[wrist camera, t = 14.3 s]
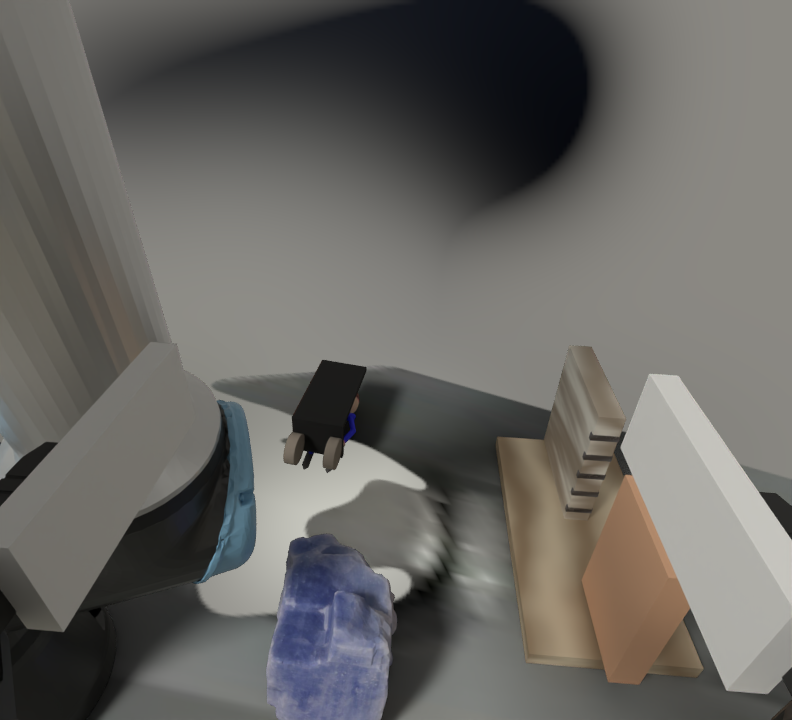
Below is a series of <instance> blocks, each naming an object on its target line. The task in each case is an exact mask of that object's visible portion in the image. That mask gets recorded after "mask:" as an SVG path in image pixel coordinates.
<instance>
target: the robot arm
mask: <svg viewBox="0 0 792 720" xmlns="http://www.w3.org/2000/svg"><path fill="white" fill-rule="evenodd" d="M0 433H1V435H2V436H3V437H4V438H3V440H2V442H0V720H86V718H87V717H88V715H89V714H90V713H91V711H92V710H93V708H94V706H95V705H96V703H97V702H98V700H99V698H100V696H101V694H102V692H103V690H104V688H105V686H106V684H107V682H108V679H109V677H110V674H111V671H112V667H113V663H114V659H115V653H116V633H115V628H114V624H113V621H112V619H111V617H110V615H109V613H108V612H107V610H106V608H105V606H107V605H111V604H115V603H118V602H122V601H126V600H129V599H133V598H137V597H140V596H144V595H148V594H151V593H155V592H158V591H162V590H166V589H169V588H173V587H177V586H180V585H184V584H188V583H191V582H192V583H194V584H199V583H203V582H206V580H208V579H209V578H210V577H212V576H214V575H218V574H220V573H224V572H226V571H230V570H233V569H236V568H238V567H240V566H241V565H243V564H244V563H245V562H246V561H247V560H248V559H249V558H250V556H251V554H252V552H253V550H254V546H255V541H256V504H255V496H254V494H253V491H254V473H253V463H252V453H251V445H250V438H249V432H248V427H247V421H246V417H245V413H244V410H243V408H242V407H241V405H239V404H237V403H235V402H225V401H222V400H219V401H216V399H215V397H214V395H213V393H212V391H211V390H210V388H209V387H208V386H207V385H206V384H205V383H204V382H203V381H201V380H200V379H199V378H198V377H196V376H194V375H193V374H191V373H189V372H187V371H185V370H183V366H182V362H181V358H180V354H179V350H178V346H177V344H174V343H172V341H171V338H170V335H169V331H168V328H167V324H166V321H165V318H164V314H163V311H162V308H161V305H160V301H159V298H158V294H157V292H156V288H155V284H154V281H153V278H152V274H151V271H150V268H149V265H148V261H147V258H146V254H145V251H144V248H143V244H142V241H141V238H140V234H139V231H138V228H137V225H136V221H135V218H134V214H133V211H132V208H131V204H130V201H129V198H128V195H127V192H126V188H125V185H124V182H123V178H122V175H121V172H120V168H119V165H118V161H117V158H116V155H115V151H114V148H113V145H112V141H111V138H110V135H109V131H108V128H107V125H106V121H105V118H104V115H103V112H102V108H101V105H100V101H99V98H98V95H97V91H96V88H95V85H94V81H93V78H92V75H91V71H90V68H89V65H88V61H87V58H86V55H85V52H84V48H83V45H82V42H81V38H80V35H79V32H78V28H77V25H76V22H75V18H74V15H73V11H72V8H71V5H70V2H69V0H0ZM620 448H621V450H622V452H623V455H624V457H625V459H626V462H627V464H628V466H629V468H630V471H631V473H632V475H633V478H634V480H635V482H636V484H637V487H638V489H639V491H640V494H641V496H642V498H643V501H644V503H645V505H646V507H647V510H648V512H649V514H650V517H651V519H652V521H653V523H654V526H655V528H656V530H657V533H658V535H659V537H660V539H661V542H662V544H663V546H664V549H665V551H666V553H667V556H668V558H669V560H670V562H671V565H672V567H673V569H674V572H675V574H676V576H677V578H678V581H679V583H680V585H681V588H682V590H683V592H684V594H685V597H686V599H687V601H688V604H689V606H690V608H691V611H692V613H693V615H694V617H695V620H696V622H697V624H698V627H699V629H700V631H701V633H702V636H703V638H704V640H705V643H706V645H707V647H708V649H709V652H710V654H711V656H712V659H713V661H714V663H715V665H716V668H717V670H718V672H719V675H720V677H721V679H722V682H723V684H724V686H725V688H726V691H736V692H748V693H759V694H768V693H769V692H770V691H771V690H772V689H773V688H774V687H775V686H776V685H777V684H778V683H779V682H780V681H781V680H782V679H783V681H784V683H785V684H786V686H787V688H788V690H789V692H790V694H791V696H792V506H791V505H790V504H788V503H787V502H786V501H785V500H784V499H782V498H781V497H780V496H779V495H777V494H776V493H765V492H758V491H757V489H756V488H755V486H754V485H753V483H752V482H751V480H750V479H749V478H748V476H747V475H746V473H745V472H744V470H743V469H742V467H741V466H740V465H739V463H738V462H737V460H736V459H735V458H734V456H733V455H732V453H731V452H730V450H729V449H728V448H727V446H726V444H725V443H724V442H723V440H722V439H721V437H720V436H719V434H718V433H717V431H716V430H715V428H714V427H713V426H712V424H711V423H710V421H709V420H708V418H707V417H706V415H705V414H704V413H703V411H702V410H701V408H700V407H699V405H698V404H697V402H696V401H695V400H694V398H693V397H692V395H691V394H690V392H689V391H688V389H687V388H686V387H685V385H684V384H683V382H682V381H681V379H680V378H679V377H678V376H676V375H660V374H649V376H648V378H647V381H646V384H645V386H644V389H643V391H642V394H641V396H640V399H639V402H638V404H637V407H636V409H635V412H634V414H633V417H632V420H631V422H630V424H629V427H628V430H627V432H626V435H625V437H624V440H623V442H622V445H621V447H620ZM771 720H792V700H791V701H790V702H789V703H788V704H787V705H786V706H785V707H784V708H783V709H781V710H780V711H779V712H778V713H777V714H776V715H775V716H774V717H773V718H772V719H771Z"/></svg>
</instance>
